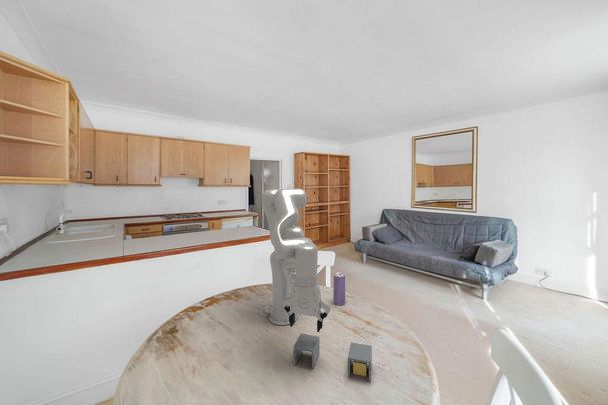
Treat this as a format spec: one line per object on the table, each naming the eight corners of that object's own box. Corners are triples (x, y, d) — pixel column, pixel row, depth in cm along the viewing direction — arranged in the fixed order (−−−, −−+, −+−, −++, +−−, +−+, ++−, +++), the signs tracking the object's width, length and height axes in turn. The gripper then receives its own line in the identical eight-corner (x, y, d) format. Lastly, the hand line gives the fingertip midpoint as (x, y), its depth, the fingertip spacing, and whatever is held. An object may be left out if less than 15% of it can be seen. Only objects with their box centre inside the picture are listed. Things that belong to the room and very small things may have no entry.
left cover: (293, 365, 83) (293, 346, 83) (300, 350, 91) (300, 333, 90) (313, 369, 81) (313, 350, 81) (319, 354, 89) (319, 336, 88)
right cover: (347, 377, 78) (347, 357, 77) (350, 360, 85) (350, 342, 85) (370, 382, 76) (370, 362, 75) (371, 364, 83) (371, 345, 83)
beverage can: (344, 306, 124) (345, 276, 123) (333, 305, 125) (332, 276, 124) (345, 300, 130) (345, 272, 129) (333, 299, 131) (333, 272, 130)
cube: (353, 374, 79) (353, 362, 79) (354, 365, 83) (354, 353, 83) (366, 376, 78) (366, 364, 78) (366, 367, 82) (366, 356, 81)
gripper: (278, 280, 83) (278, 328, 85) (328, 288, 78) (327, 339, 80) (286, 272, 90) (286, 316, 92) (333, 278, 85) (332, 325, 87)
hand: (305, 327), depth 86 cm, fingers open, 9 cm apart
